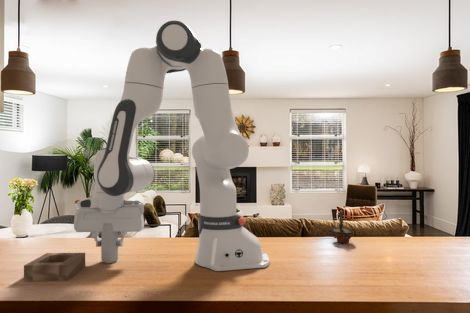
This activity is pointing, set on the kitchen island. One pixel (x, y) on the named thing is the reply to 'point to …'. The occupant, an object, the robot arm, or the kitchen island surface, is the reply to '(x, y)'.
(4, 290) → the kitchen island surface
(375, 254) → the kitchen island surface
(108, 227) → the beverage can
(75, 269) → the walnut holder
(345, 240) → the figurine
